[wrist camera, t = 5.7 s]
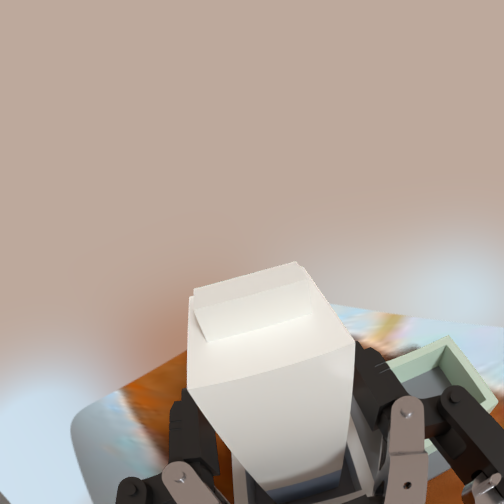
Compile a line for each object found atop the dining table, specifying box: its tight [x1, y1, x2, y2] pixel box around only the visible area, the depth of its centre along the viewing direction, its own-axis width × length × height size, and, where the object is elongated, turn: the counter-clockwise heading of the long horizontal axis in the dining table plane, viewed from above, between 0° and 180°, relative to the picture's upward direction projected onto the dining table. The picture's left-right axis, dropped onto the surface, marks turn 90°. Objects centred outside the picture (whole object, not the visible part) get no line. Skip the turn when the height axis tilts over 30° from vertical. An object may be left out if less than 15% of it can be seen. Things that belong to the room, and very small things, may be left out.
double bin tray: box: [231, 335, 498, 504], centre depth 13 cm, size 17×9×3 cm, turn 94°
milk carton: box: [187, 261, 355, 504], centre depth 9 cm, size 4×4×14 cm
